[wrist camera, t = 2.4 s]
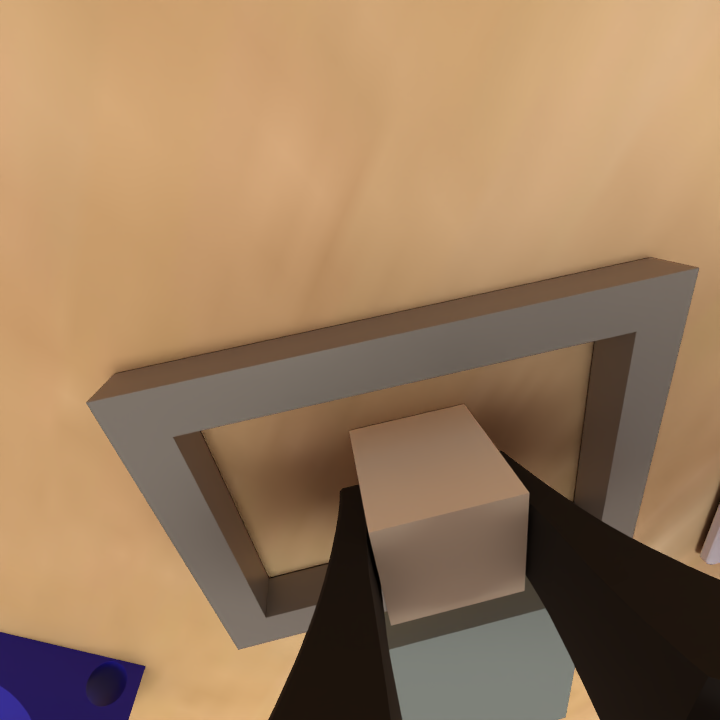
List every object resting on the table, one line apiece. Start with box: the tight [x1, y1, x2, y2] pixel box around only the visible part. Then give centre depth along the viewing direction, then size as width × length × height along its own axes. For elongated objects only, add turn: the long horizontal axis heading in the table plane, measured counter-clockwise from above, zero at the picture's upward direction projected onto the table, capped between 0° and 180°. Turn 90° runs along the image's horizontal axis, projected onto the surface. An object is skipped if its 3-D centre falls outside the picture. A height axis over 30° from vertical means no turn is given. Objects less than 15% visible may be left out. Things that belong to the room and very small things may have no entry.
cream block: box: [349, 404, 529, 626], centre depth 11 cm, size 4×4×4 cm
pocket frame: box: [86, 257, 699, 650], centre depth 13 cm, size 16×12×2 cm
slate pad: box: [384, 576, 575, 720], centre depth 19 cm, size 10×12×2 cm
